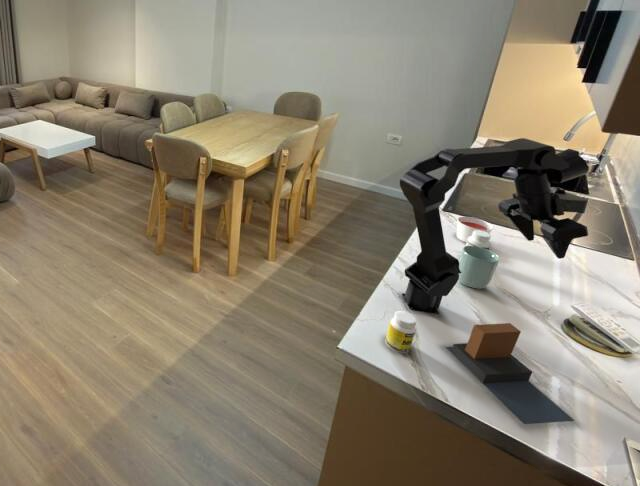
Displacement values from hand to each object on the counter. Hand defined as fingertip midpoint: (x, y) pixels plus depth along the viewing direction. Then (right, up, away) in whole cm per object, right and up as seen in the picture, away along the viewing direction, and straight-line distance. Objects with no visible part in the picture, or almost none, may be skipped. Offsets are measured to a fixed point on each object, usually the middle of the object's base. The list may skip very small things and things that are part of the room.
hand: (545, 248), depth 95 cm
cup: (-4, -14, +16) cm, 22 cm away
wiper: (-23, -23, -10) cm, 34 cm away
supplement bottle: (-39, -22, -4) cm, 45 cm away
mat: (-23, -25, -13) cm, 36 cm away
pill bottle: (+6, -10, +26) cm, 29 cm away
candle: (+14, -6, +37) cm, 41 cm away
